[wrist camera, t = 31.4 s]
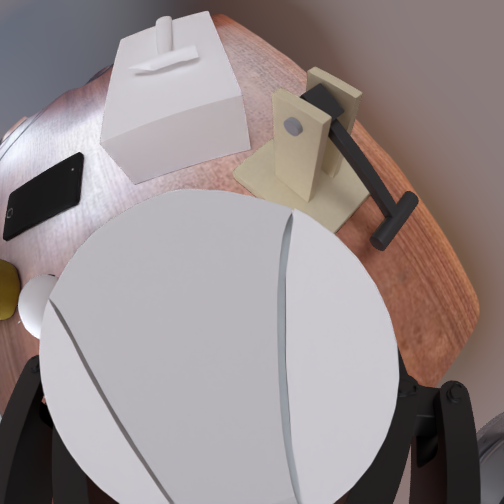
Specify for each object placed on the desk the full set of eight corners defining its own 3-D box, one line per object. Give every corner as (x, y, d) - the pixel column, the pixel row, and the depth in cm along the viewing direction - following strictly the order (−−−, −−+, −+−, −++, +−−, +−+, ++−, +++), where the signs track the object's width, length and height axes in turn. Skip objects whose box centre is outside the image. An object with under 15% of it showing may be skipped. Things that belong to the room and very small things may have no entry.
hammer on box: (135, 184, 31) (88, 129, 20) (138, 74, 38) (116, 29, 28) (251, 149, 30) (239, 76, 20) (216, 49, 38) (205, -1, 27)
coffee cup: (329, 380, 17) (451, 477, 3) (217, 414, 17) (102, 541, 3) (290, 270, 20) (318, 113, 5) (182, 306, 20) (13, 239, 5)
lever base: (375, 188, 28) (419, 108, 16) (318, 251, 26) (349, 184, 14) (294, 128, 31) (297, 40, 19) (233, 178, 29) (208, 90, 17)
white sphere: (86, 275, 28) (45, 259, 21) (92, 339, 26) (48, 337, 19) (35, 290, 28) (-4, 278, 21) (39, 345, 26) (-2, 342, 19)
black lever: (406, 205, 23) (424, 204, 20) (372, 250, 22) (391, 252, 19) (320, 85, 19) (335, 73, 17) (271, 119, 19) (283, 107, 16)
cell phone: (12, 196, 34) (9, 193, 33) (84, 153, 33) (81, 150, 32) (6, 241, 31) (2, 240, 30) (79, 203, 31) (75, 200, 30)
